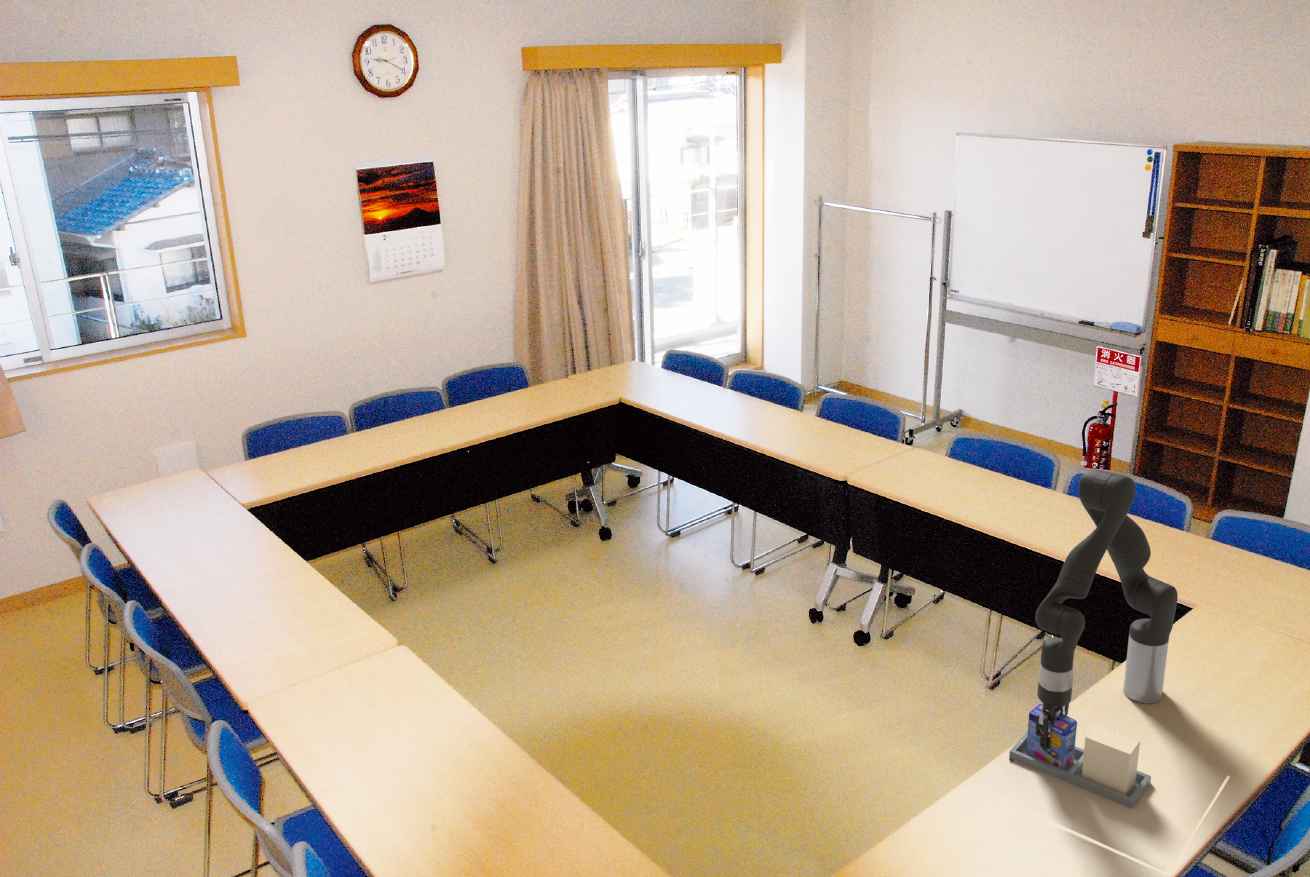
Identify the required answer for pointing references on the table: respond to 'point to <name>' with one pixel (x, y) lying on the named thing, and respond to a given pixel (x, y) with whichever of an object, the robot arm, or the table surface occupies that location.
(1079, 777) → the tray
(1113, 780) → the beige box
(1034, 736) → the ink cartridge box
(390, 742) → the table surface
